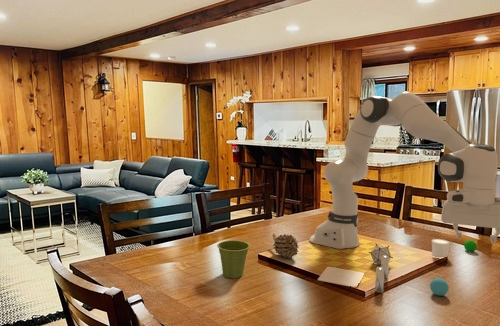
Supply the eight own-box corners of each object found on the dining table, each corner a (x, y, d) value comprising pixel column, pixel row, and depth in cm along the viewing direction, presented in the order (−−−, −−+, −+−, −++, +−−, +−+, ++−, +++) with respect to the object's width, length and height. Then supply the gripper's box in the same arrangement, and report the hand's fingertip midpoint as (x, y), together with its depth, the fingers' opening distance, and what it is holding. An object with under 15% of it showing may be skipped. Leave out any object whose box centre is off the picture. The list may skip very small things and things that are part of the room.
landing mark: (317, 280, 142) (317, 279, 142) (327, 266, 154) (327, 266, 154) (357, 288, 136) (357, 287, 136) (364, 273, 148) (364, 273, 148)
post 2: (379, 278, 144) (380, 257, 143) (380, 275, 146) (381, 254, 145) (387, 279, 143) (388, 258, 142) (388, 277, 145) (389, 255, 144)
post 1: (374, 292, 133) (375, 269, 132) (375, 289, 135) (376, 266, 134) (382, 293, 132) (383, 270, 131) (383, 290, 134) (384, 267, 133)
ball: (429, 296, 130) (430, 280, 129) (429, 289, 135) (430, 274, 134) (448, 300, 128) (449, 283, 127) (447, 293, 132) (449, 277, 132)
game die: (380, 275, 156) (377, 260, 150) (366, 261, 162) (362, 246, 156) (398, 263, 157) (396, 248, 151) (383, 249, 164) (381, 234, 158)
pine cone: (304, 261, 159) (305, 237, 158) (283, 264, 156) (284, 240, 155) (280, 244, 180) (280, 223, 178) (260, 247, 176) (260, 225, 175)
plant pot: (237, 284, 137) (238, 252, 136) (210, 276, 144) (210, 246, 142) (255, 273, 147) (255, 243, 146) (229, 266, 154) (229, 238, 152)
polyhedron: (471, 253, 171) (471, 243, 171) (461, 250, 176) (461, 239, 175) (479, 252, 173) (480, 241, 173) (468, 248, 178) (469, 238, 177)
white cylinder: (450, 261, 162) (452, 244, 161) (432, 259, 163) (433, 243, 163) (446, 255, 169) (447, 239, 168) (428, 254, 170) (429, 238, 169)
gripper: (516, 197, 122) (513, 241, 124) (442, 192, 131) (440, 233, 132) (520, 201, 116) (516, 247, 118) (442, 195, 125) (440, 238, 127)
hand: (475, 239), depth 125 cm, fingers open, 8 cm apart
